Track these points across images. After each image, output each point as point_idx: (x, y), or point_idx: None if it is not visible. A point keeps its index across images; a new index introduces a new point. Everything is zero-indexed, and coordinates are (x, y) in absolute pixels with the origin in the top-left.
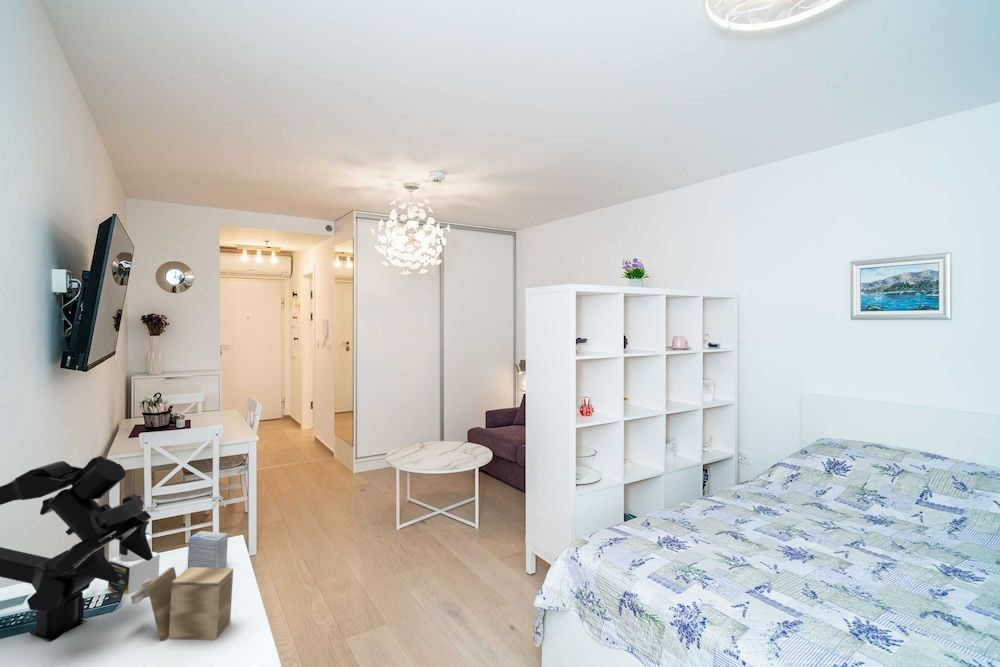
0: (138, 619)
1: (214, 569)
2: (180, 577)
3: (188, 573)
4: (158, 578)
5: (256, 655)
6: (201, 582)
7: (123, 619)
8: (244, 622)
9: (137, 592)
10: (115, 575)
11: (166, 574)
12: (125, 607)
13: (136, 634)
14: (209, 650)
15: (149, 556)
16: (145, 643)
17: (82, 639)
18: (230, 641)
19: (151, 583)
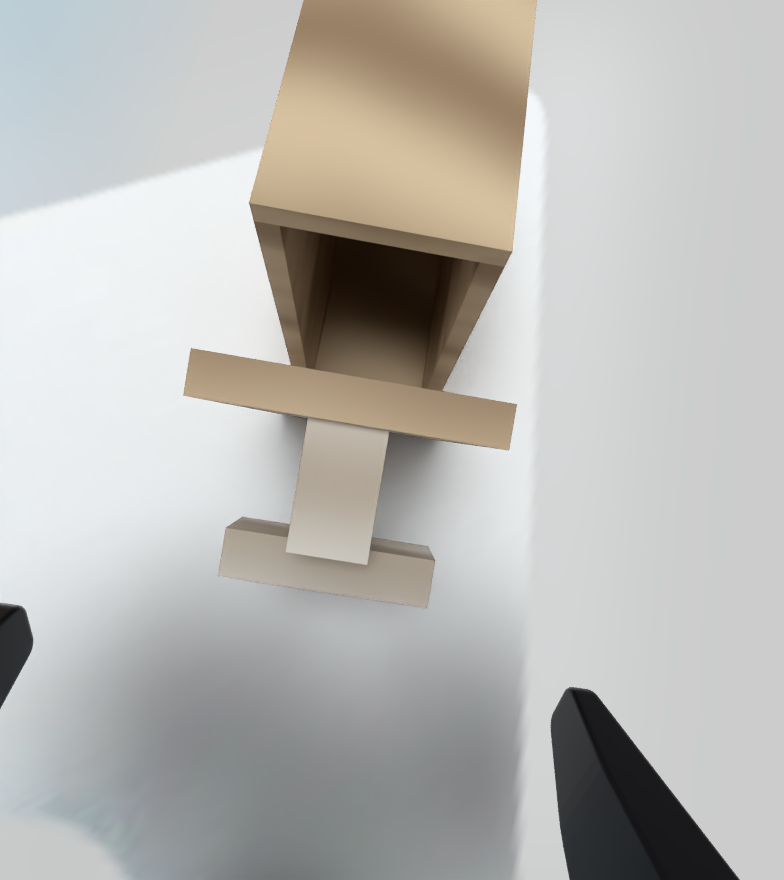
0: (218, 637)
1: (325, 27)
2: (441, 214)
3: (374, 179)
4: (414, 393)
5: (531, 109)
6: (528, 62)
7: (203, 722)
8: None
9: (382, 580)
10: (645, 758)
11: (315, 371)
12: (63, 786)
13: None
14: None
15: (2, 639)
16: (431, 504)
17: (369, 839)
18: None
19: (500, 415)
